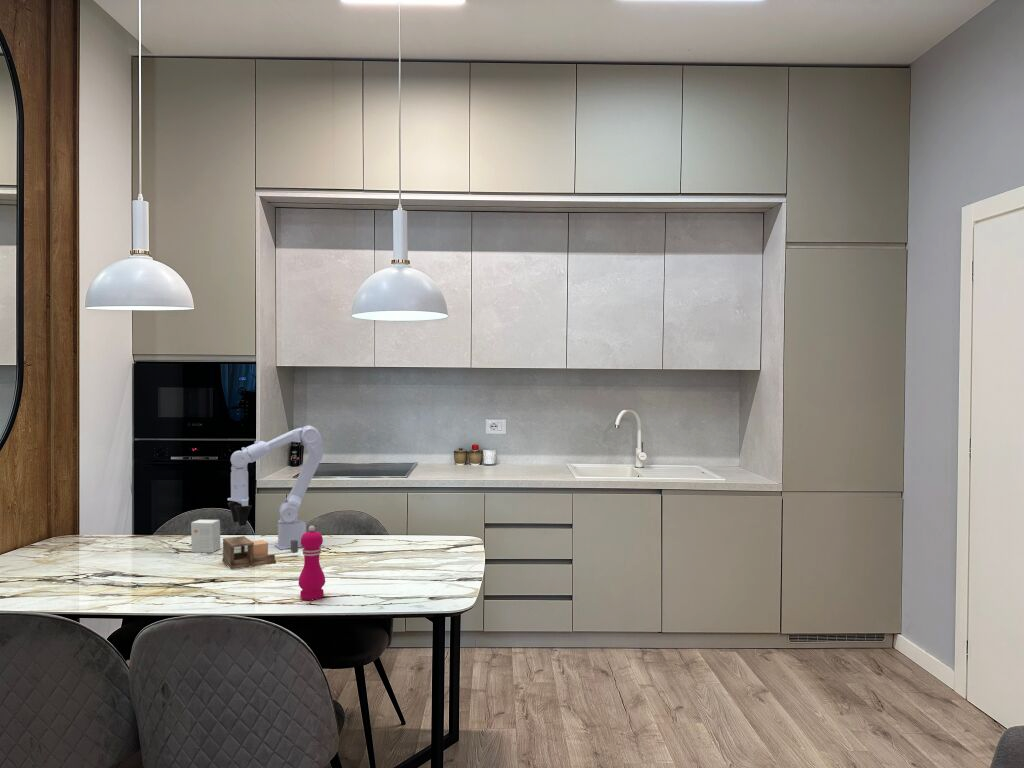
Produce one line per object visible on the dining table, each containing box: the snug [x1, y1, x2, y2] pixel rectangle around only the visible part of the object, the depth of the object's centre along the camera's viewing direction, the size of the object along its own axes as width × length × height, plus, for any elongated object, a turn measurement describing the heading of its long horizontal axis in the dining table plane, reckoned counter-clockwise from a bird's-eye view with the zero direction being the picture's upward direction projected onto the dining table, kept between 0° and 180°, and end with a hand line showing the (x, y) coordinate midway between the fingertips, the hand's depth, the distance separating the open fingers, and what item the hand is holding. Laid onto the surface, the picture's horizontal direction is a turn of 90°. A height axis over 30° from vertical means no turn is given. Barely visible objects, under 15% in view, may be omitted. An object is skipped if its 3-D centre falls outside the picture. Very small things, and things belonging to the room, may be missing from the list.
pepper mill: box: [298, 525, 326, 601], centre depth 209 cm, size 7×7×20 cm
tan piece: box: [246, 539, 299, 558], centre depth 252 cm, size 16×6×5 cm, turn 124°
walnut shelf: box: [222, 535, 277, 570], centre depth 248 cm, size 14×12×8 cm
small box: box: [190, 519, 222, 553], centre depth 264 cm, size 8×6×10 cm
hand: (239, 523), depth 264 cm, fingers open, 7 cm apart
